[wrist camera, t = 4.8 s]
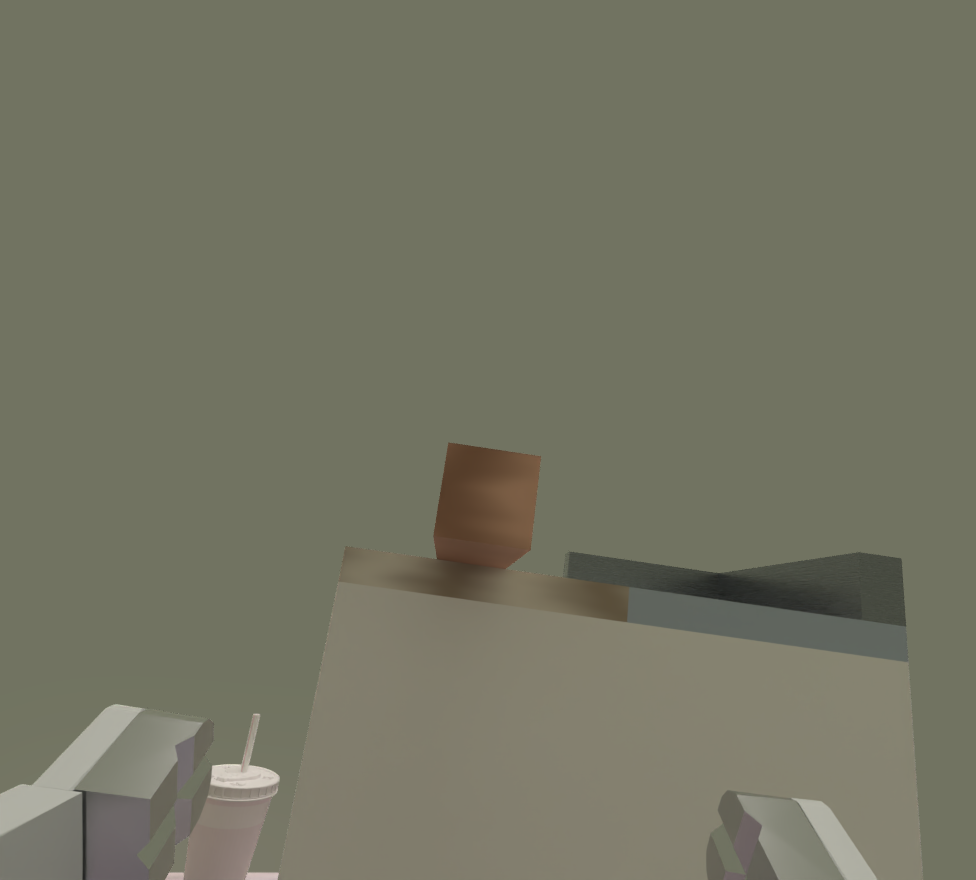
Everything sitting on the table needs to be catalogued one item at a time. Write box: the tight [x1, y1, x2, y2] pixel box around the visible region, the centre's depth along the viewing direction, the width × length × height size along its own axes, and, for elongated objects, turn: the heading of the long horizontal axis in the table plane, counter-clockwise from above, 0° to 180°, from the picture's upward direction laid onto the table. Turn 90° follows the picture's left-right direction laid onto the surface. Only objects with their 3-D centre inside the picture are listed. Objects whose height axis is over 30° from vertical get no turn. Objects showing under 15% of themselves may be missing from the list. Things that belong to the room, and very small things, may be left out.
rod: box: [434, 443, 541, 569], centre depth 28 cm, size 3×20×3 cm, turn 4°
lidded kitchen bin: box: [278, 546, 923, 880], centre depth 30 cm, size 25×16×29 cm, turn 94°
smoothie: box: [184, 714, 279, 880], centre depth 46 cm, size 6×6×14 cm
